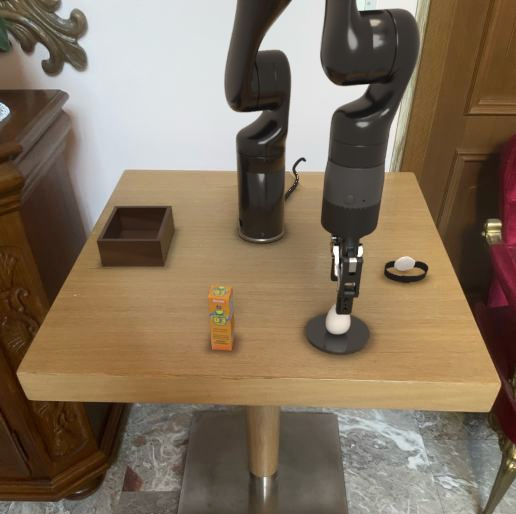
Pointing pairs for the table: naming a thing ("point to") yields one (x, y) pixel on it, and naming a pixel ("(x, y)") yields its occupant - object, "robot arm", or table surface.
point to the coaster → (337, 336)
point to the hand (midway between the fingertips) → (340, 296)
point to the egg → (337, 322)
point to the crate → (136, 236)
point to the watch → (404, 265)
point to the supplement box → (221, 317)
